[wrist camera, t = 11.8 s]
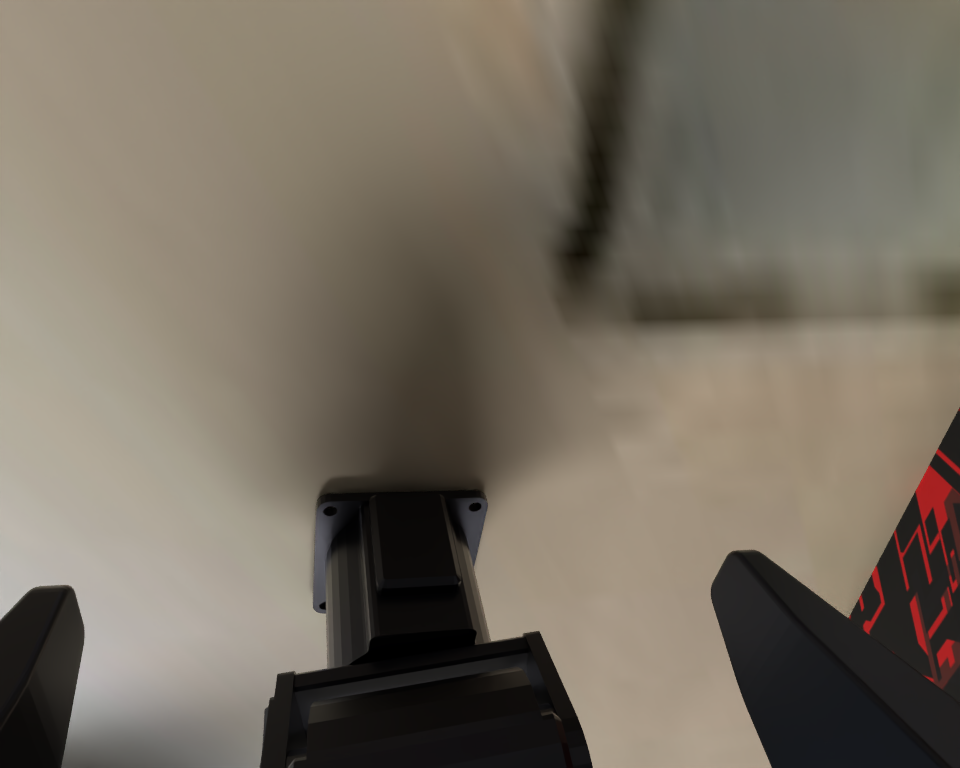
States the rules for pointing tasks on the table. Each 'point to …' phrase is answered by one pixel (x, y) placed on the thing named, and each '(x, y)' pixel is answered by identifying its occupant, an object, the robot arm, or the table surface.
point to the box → (922, 576)
